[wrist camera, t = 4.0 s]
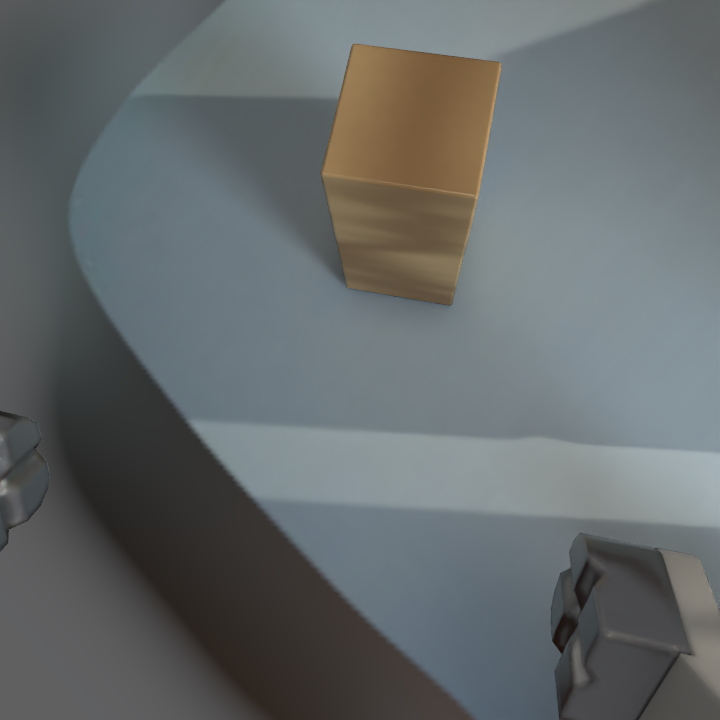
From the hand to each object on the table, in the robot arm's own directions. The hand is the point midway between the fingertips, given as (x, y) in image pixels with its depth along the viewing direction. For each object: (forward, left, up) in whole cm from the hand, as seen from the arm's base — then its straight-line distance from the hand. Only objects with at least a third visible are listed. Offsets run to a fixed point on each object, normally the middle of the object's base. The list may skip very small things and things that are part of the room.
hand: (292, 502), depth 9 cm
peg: (0, +10, -12) cm, 16 cm away
